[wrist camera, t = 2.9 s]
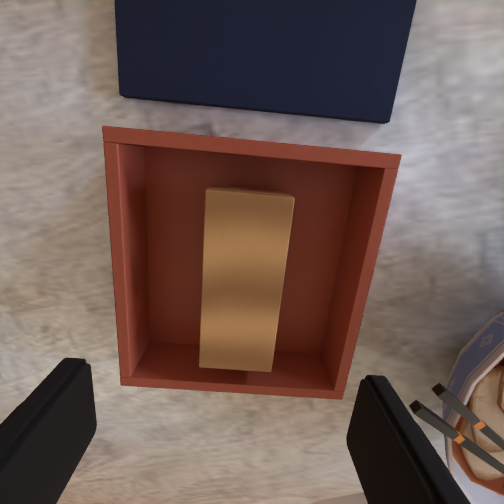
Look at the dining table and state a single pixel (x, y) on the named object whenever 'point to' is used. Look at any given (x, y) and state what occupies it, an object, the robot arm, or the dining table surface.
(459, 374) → the ramen bowl
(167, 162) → the red open tray
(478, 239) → the dining table surface
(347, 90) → the mat
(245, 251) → the tall wooden block
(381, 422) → the robot arm
